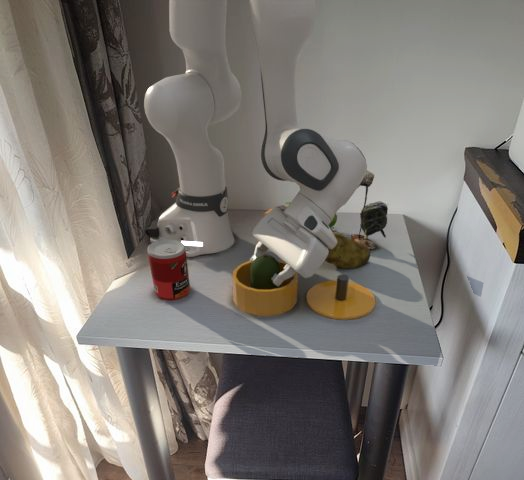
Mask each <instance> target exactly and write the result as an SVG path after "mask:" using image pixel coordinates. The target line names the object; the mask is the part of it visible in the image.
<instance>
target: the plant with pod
mask: <svg viewBox="0 0 524 480" xmlns="http://www.w3.org/2000/svg"><path fill="white" fill-rule="evenodd" d="M374 179H375V174H374V173H373V172H371V171H369V170H368V169H367V171H366V174H365V176H364V178H363V180H362V181H361V183H360V185H359V186H358V188H359V187H365V196H364V203H363V207H362V209H361V210H360V213H359V217H360V218H359V219H360V224H359V225H360V228H359V233H358V234H357V233H353V234H350V237H348V238H349V239H352V240H354V241H356V242H359V243H361V244H363V245H365V246H366V247H367V248H368V249H369V250H373V249H375V248H377V246H376V245H375V244H374V243H373V241H372V239H370V238H369V236H372V235H374V234H376V233H381V235H382V236H383V238H385V239H386V238H387V235H386V233H385V231H384V229H385V228H386V227H387V224H388V216H387V215H388V211H389V210H388V209H389V208H388V206H389V204H386V203H385V202H383V201H381V200H379V201H375V202H370V203H368V204H367V199H368V192H369V187H371V186H372V185H373V182H374ZM362 231H363V234H361V232H362Z"/></svg>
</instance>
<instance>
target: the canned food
mask: <svg viewBox="0 0 524 480" xmlns="http://www.w3.org/2000/svg"><path fill="white" fill-rule="evenodd" d="M147 258H148V262H149V268H150V274H151V279H152V285H153V290H154V293H155V296H156V297H157V298H158V299H160V300H162V301H163V300H165V301H177V300H182V299H183V298H185V297H187V296H188V295H189V293H190V290H191V286H190V285H191V283H190V276H189V275H190V274H189V267H188V266H189V265H188V257H187V256H186V250H185V246H184V244H183V243H182V242H180V241H176V240H160V241H156V242H154V243H150V244H149V245H148V246H147Z"/></svg>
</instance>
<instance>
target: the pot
mask: <svg viewBox="0 0 524 480" xmlns="http://www.w3.org/2000/svg"><path fill="white" fill-rule="evenodd" d="M276 260H277V261H278V263H279V265H280V273H281V272H282V271H283V270H285V269H283V268H284V267H285V265H286V264H287V263H285V262H284V261H283V260H281V259H276ZM251 264H252V263H251V262H250V260H247V261H245V262H243V263H241V264H239V265H237V267H235V268H234V269H233V271H232V276H231V282H232V297H233V298H232V299H233V300H232V301H233V302H234V305H235V306H236V308H238V309H239V310H241V311H242V312H244V313H246V314H249V315H253V316H255V317H273V316H277V315H278V316H279V315H282V314H284V313H285V314H286V312H288V311H291V310H292V309H293V308H294V307H295V305H296V304H297V303H298V287H299V286H298V285H299V284H298V283H299V273H297V272H296V273H295V274H294V275H293V276H292V277H290V278H288V279H286V280H284V281H283V282H282V284H281V285H280V288H276V289H271V290H264V289H254V288H251V277H250V268H251Z"/></svg>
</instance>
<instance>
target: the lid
mask: <svg viewBox="0 0 524 480" xmlns="http://www.w3.org/2000/svg"><path fill="white" fill-rule="evenodd" d="M305 299H306V304H307V305H308V307H309V308H310V309H311V310H312V311H313V312H314V313H316V314H318V315H320V316H323V317H325V318H327V319H328V318H329V319H334V320H339V321H345V320H347V321H348V320H350V321H351V320H356V319H361V318H363V317H366V316H367V315H369V314H370V313H371V312H372V311H374V309H375V307H376V297H375V296H374V294H373V292H372V291H370V289H368V288H367V287H365V286H363V285H361V284H359V283H356V282H352V281H350V277H349V276H348V275H346V274H339V275H337V277H336V280H328V281H327V280H326V281H322V282H319V283H317V284H315V285H313V286H312V287H310V289H308V291H307V293H306V297H305Z"/></svg>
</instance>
